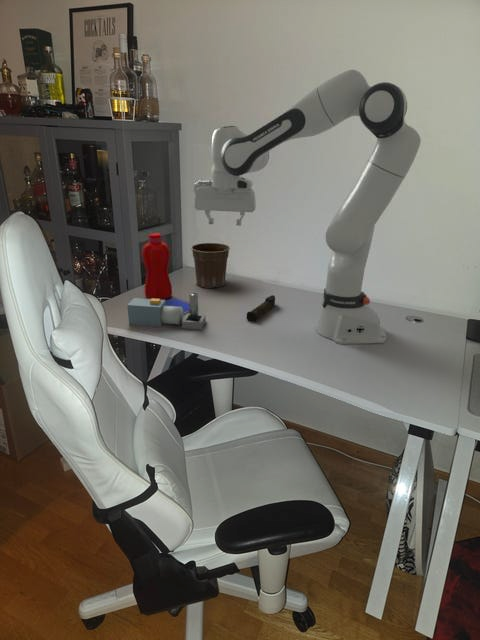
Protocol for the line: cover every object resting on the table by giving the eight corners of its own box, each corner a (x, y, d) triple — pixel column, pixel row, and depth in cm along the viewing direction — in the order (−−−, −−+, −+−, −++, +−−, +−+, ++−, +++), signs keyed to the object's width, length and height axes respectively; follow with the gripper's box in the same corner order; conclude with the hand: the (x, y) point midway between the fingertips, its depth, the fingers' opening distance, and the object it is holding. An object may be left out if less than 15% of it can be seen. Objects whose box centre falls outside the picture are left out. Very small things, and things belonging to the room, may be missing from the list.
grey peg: (200, 322, 139) (200, 292, 135) (198, 327, 136) (197, 296, 132) (190, 322, 140) (189, 292, 135) (187, 326, 136) (186, 296, 132)
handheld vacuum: (205, 321, 141) (205, 299, 137) (201, 329, 135) (201, 306, 131) (135, 316, 143) (133, 294, 140) (129, 324, 137) (126, 301, 134)
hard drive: (158, 303, 152) (181, 312, 145) (175, 297, 158) (198, 305, 151) (158, 307, 152) (181, 316, 145) (175, 301, 158) (198, 309, 151)
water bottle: (153, 290, 167) (148, 229, 156) (175, 295, 162) (172, 232, 152) (138, 297, 159) (132, 233, 149) (161, 303, 155) (157, 237, 144)
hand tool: (255, 324, 140) (256, 311, 138) (245, 321, 142) (246, 308, 140) (280, 306, 155) (281, 295, 153) (271, 304, 157) (272, 293, 155)
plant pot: (199, 276, 185) (199, 240, 178) (234, 279, 181) (234, 244, 175) (186, 287, 171) (184, 250, 164) (223, 292, 167) (223, 253, 160)
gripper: (191, 181, 130) (192, 224, 136) (255, 183, 128) (253, 227, 134) (195, 179, 136) (196, 221, 142) (257, 181, 134) (255, 224, 140)
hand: (224, 224), depth 138 cm, fingers open, 8 cm apart
